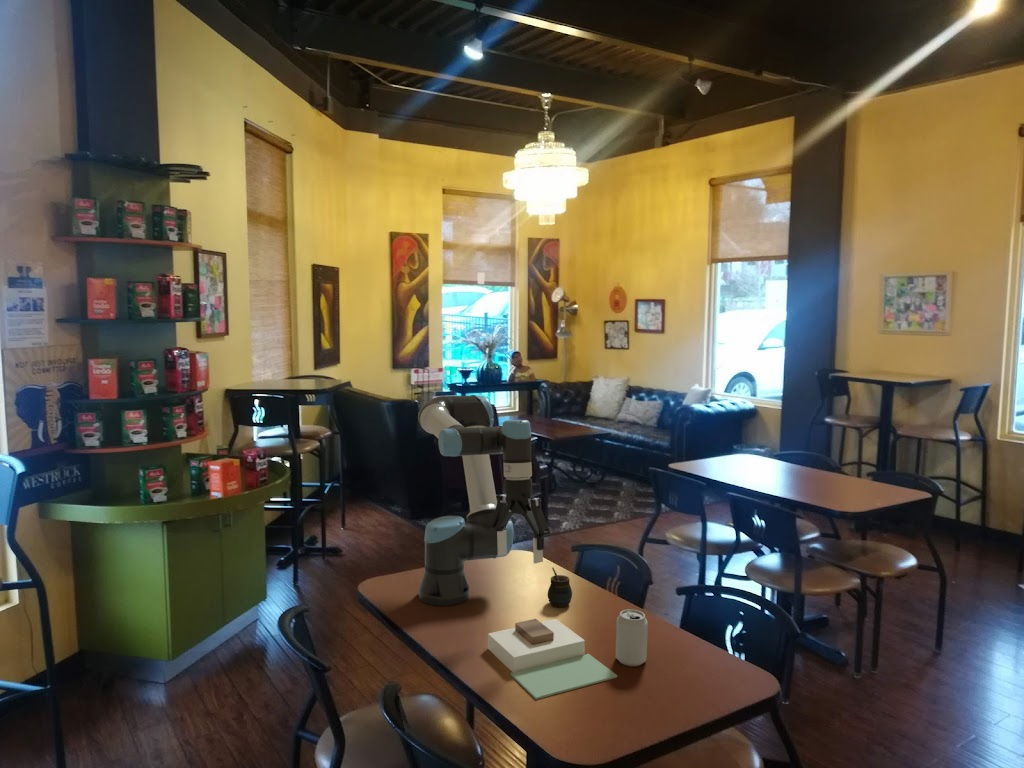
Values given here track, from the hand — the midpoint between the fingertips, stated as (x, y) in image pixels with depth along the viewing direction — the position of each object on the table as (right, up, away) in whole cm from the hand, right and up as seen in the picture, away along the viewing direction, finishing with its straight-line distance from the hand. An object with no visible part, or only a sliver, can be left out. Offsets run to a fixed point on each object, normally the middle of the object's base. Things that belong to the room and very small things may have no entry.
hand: (519, 558), depth 191 cm
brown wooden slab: (+4, -17, -9) cm, 20 cm away
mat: (+10, -23, -21) cm, 32 cm away
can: (+27, -22, -13) cm, 37 cm away
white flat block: (+4, -21, -9) cm, 24 cm away
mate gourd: (+12, -19, +21) cm, 30 cm away
